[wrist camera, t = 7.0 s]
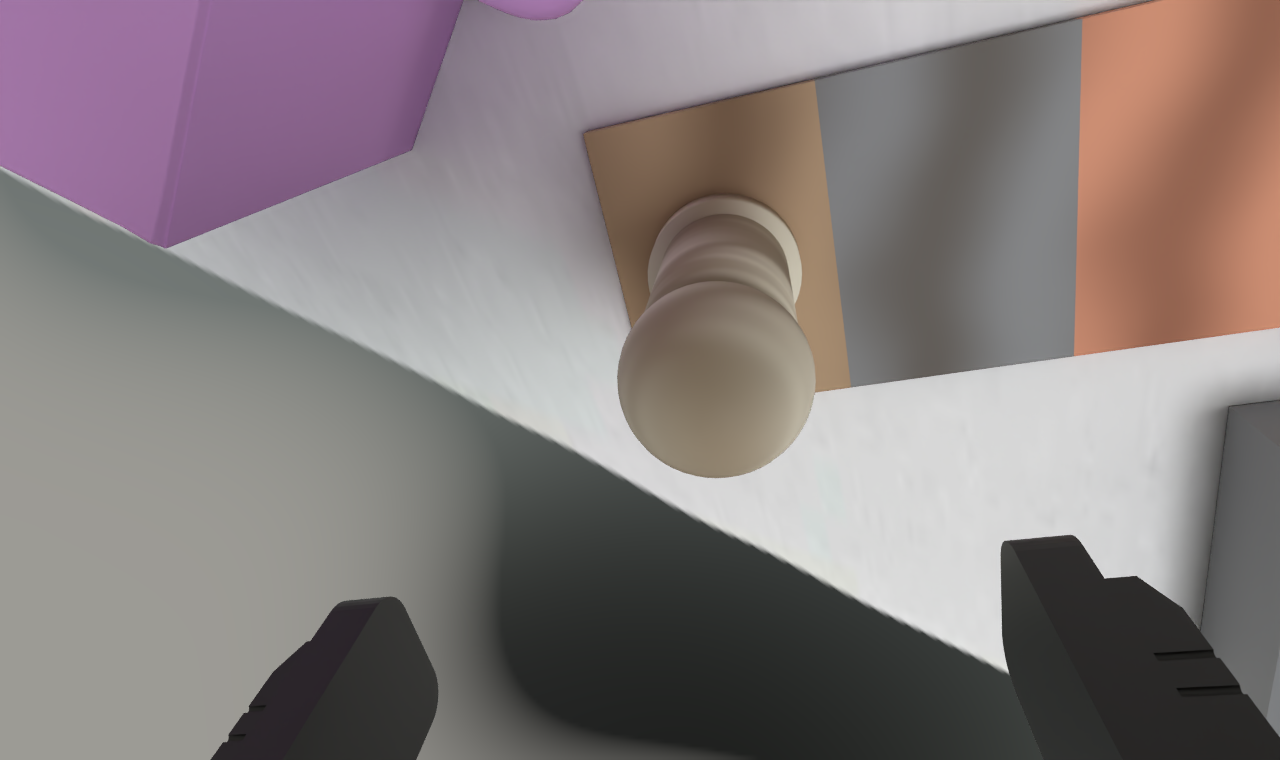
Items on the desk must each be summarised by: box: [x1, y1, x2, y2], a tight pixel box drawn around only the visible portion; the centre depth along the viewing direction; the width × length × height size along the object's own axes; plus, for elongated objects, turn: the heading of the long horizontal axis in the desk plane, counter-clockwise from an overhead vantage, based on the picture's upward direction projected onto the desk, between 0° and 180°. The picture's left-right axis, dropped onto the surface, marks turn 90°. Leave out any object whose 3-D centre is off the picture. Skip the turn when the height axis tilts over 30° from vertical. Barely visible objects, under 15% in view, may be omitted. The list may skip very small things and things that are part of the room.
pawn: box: [617, 194, 816, 478], centre depth 19 cm, size 5×5×10 cm
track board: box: [583, 0, 1280, 392], centre depth 22 cm, size 28×10×1 cm, turn 103°
